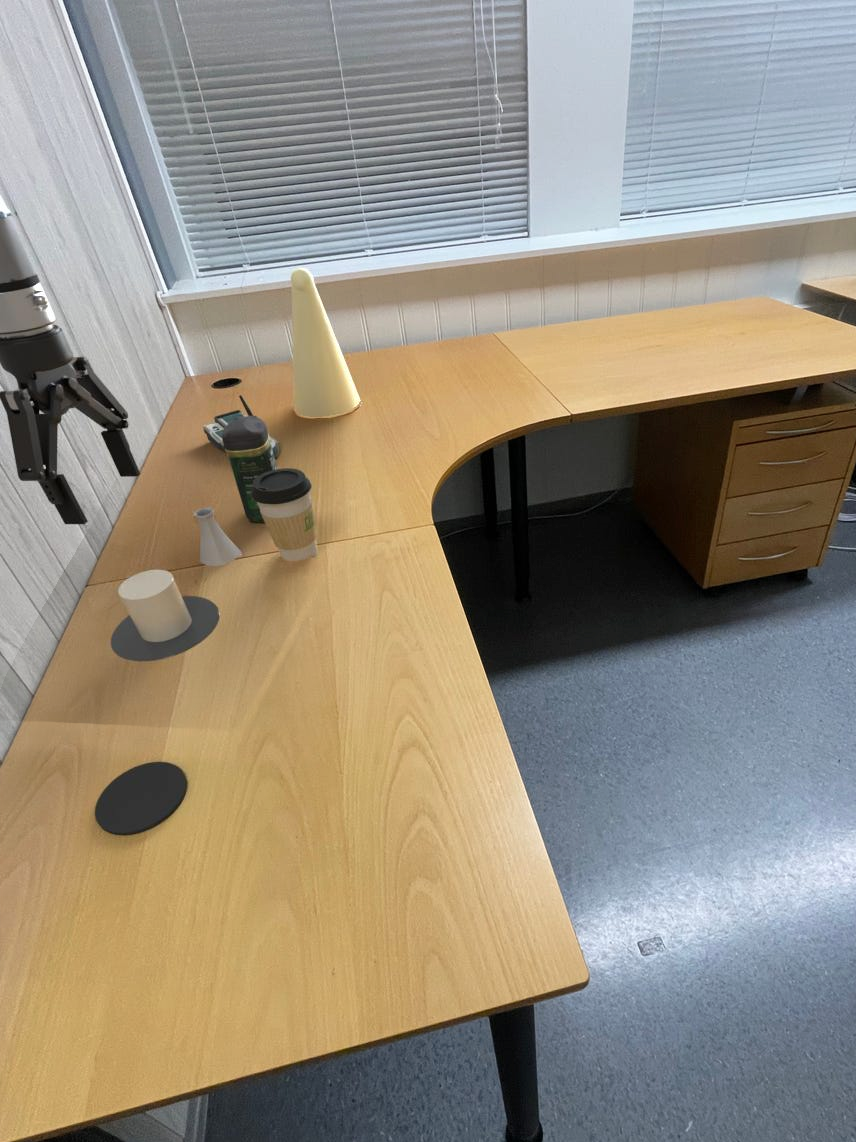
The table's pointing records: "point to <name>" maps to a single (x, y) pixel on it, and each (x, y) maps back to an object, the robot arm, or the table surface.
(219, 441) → the communication device
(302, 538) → the coffee cup
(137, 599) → the white cylinder
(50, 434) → the robot arm
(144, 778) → the coaster
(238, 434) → the coffee jar
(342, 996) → the table surface
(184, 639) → the plate
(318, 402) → the cone light
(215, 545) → the flask
